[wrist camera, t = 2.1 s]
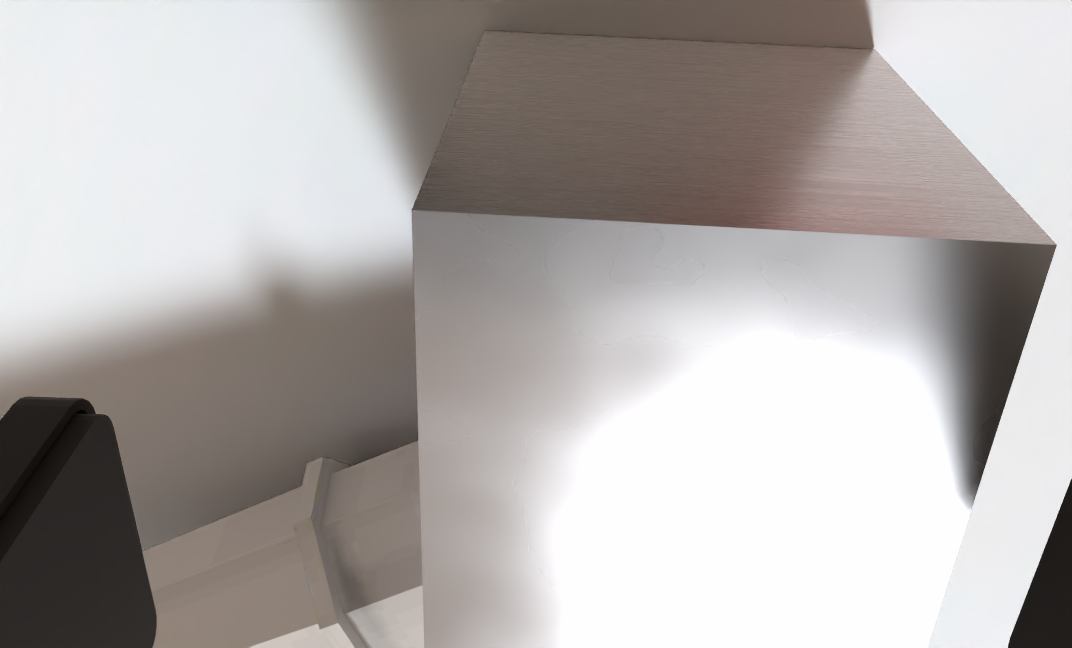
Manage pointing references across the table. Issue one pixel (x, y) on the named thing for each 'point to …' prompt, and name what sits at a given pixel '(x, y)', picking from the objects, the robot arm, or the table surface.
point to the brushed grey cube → (704, 347)
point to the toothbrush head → (302, 565)
